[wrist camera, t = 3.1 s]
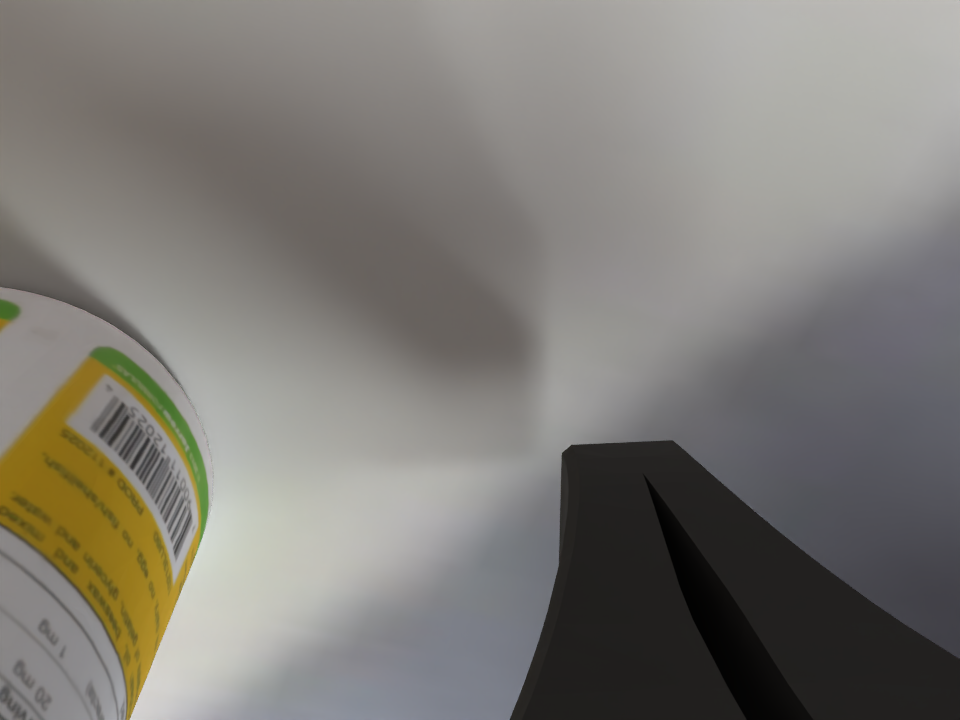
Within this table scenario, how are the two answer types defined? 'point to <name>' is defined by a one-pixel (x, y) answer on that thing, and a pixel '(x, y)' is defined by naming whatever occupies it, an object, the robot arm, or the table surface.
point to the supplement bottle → (89, 510)
